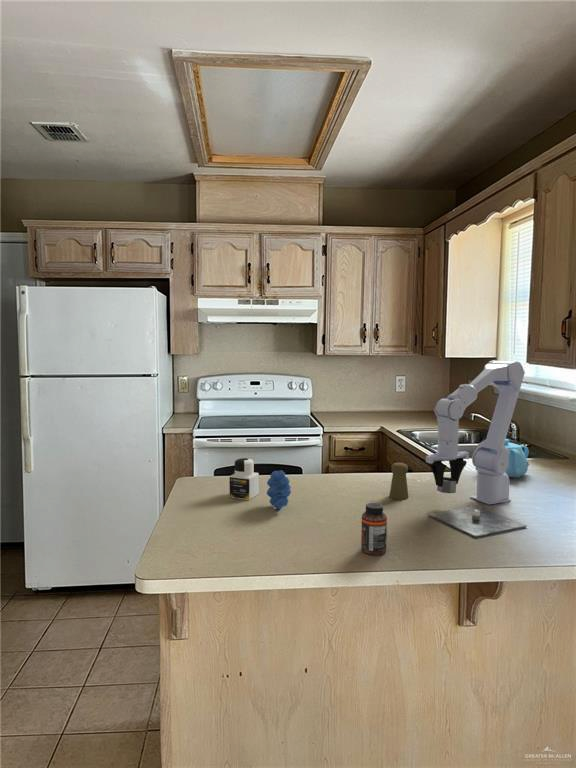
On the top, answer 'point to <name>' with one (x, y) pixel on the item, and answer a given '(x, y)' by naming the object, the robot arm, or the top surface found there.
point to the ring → (448, 485)
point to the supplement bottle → (374, 530)
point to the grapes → (278, 489)
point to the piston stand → (477, 521)
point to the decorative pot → (516, 459)
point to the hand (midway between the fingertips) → (446, 484)
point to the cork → (399, 482)
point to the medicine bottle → (244, 480)
